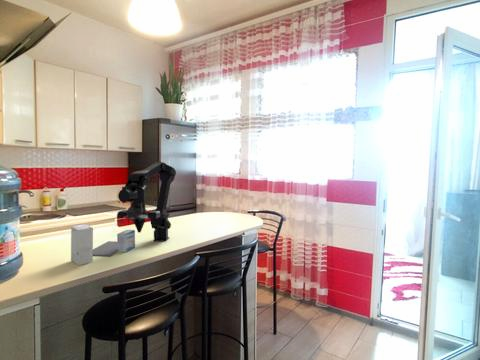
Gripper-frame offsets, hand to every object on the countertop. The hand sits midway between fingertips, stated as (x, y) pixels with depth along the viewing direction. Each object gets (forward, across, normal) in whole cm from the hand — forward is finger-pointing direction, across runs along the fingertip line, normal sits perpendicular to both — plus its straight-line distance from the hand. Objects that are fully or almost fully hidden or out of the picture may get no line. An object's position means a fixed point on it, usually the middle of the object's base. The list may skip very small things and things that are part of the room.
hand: (139, 232), depth 134 cm
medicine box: (+9, -6, 0) cm, 11 cm away
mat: (+8, -15, 0) cm, 17 cm away
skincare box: (+8, -17, -17) cm, 26 cm away
